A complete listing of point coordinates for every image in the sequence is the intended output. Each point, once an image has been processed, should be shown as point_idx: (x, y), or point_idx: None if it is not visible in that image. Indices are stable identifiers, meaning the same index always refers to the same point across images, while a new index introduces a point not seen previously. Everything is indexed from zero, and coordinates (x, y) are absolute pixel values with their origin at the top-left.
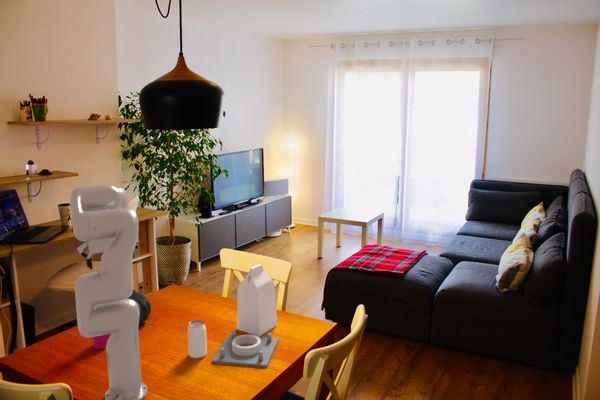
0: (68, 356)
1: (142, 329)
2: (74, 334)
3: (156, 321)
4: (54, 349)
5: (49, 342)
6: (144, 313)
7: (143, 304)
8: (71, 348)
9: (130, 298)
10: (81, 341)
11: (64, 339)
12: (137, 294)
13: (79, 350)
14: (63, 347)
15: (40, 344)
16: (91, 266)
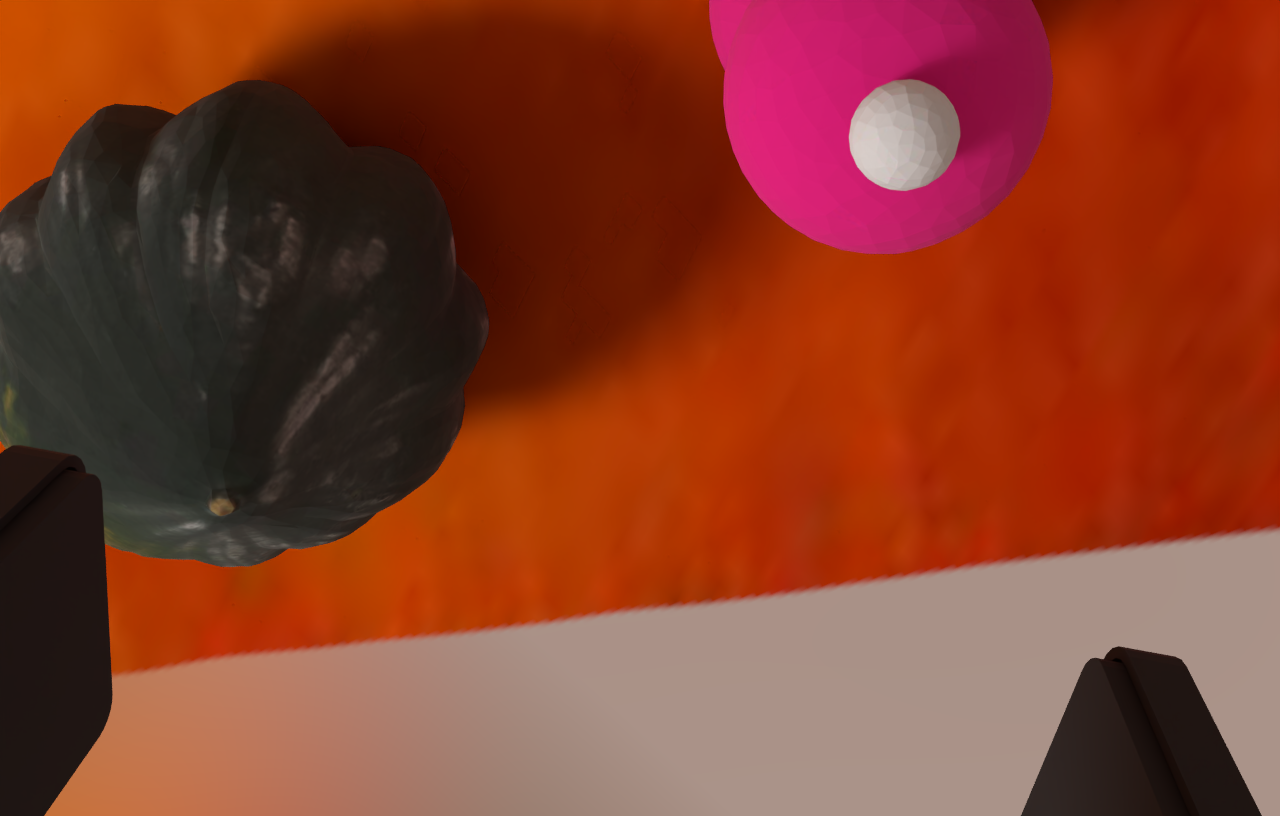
0: (1246, 26)
1: (292, 15)
2: (900, 472)
3: (72, 88)
4: (1229, 308)
5: (1162, 491)
6: (153, 118)
7: (89, 171)
8: (1106, 192)
9: (207, 316)
10: (941, 268)
11: (1029, 443)
12: (65, 369)
13: (1081, 74)
14: (1144, 281)
15: (1241, 514)
16: (1168, 718)
